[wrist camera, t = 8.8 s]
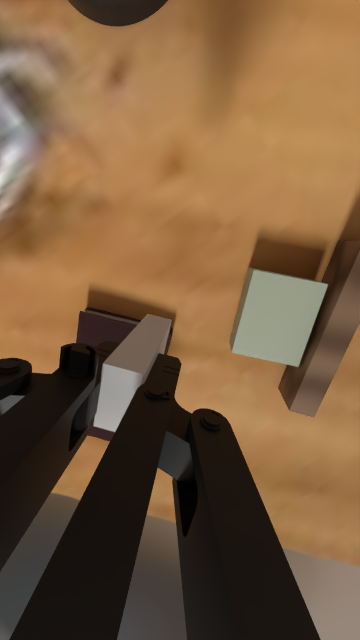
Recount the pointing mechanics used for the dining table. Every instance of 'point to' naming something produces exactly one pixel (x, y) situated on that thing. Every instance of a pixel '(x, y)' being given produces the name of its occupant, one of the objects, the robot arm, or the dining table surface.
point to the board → (327, 333)
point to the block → (276, 316)
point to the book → (101, 329)
